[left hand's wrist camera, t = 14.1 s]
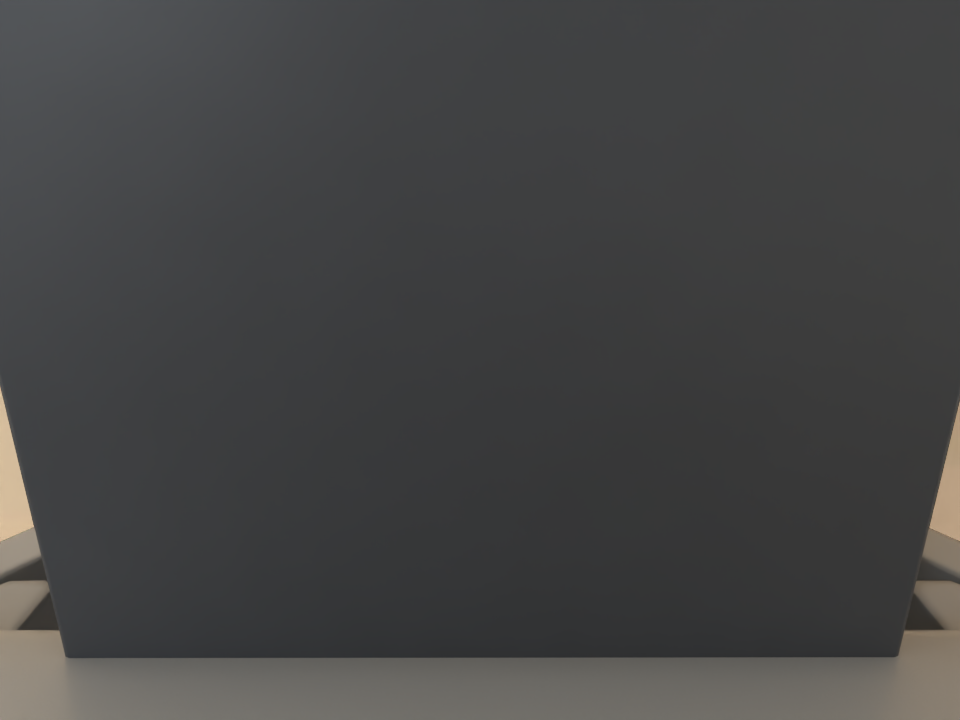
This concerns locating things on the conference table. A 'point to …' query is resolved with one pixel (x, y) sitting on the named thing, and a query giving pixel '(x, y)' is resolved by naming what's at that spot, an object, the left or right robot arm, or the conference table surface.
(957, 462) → the conference table surface
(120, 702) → the left robot arm
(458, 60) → the bar
